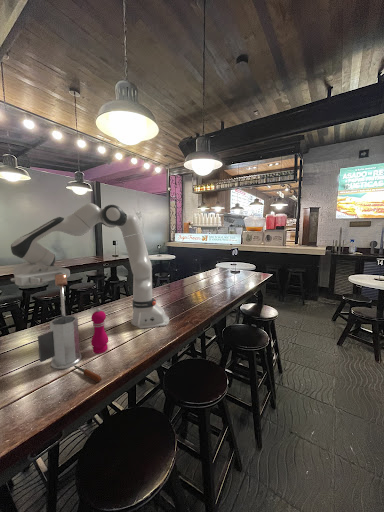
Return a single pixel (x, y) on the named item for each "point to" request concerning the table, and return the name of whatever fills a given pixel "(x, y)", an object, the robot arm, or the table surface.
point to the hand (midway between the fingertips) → (53, 278)
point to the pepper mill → (99, 332)
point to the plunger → (61, 292)
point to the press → (61, 343)
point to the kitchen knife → (89, 374)
